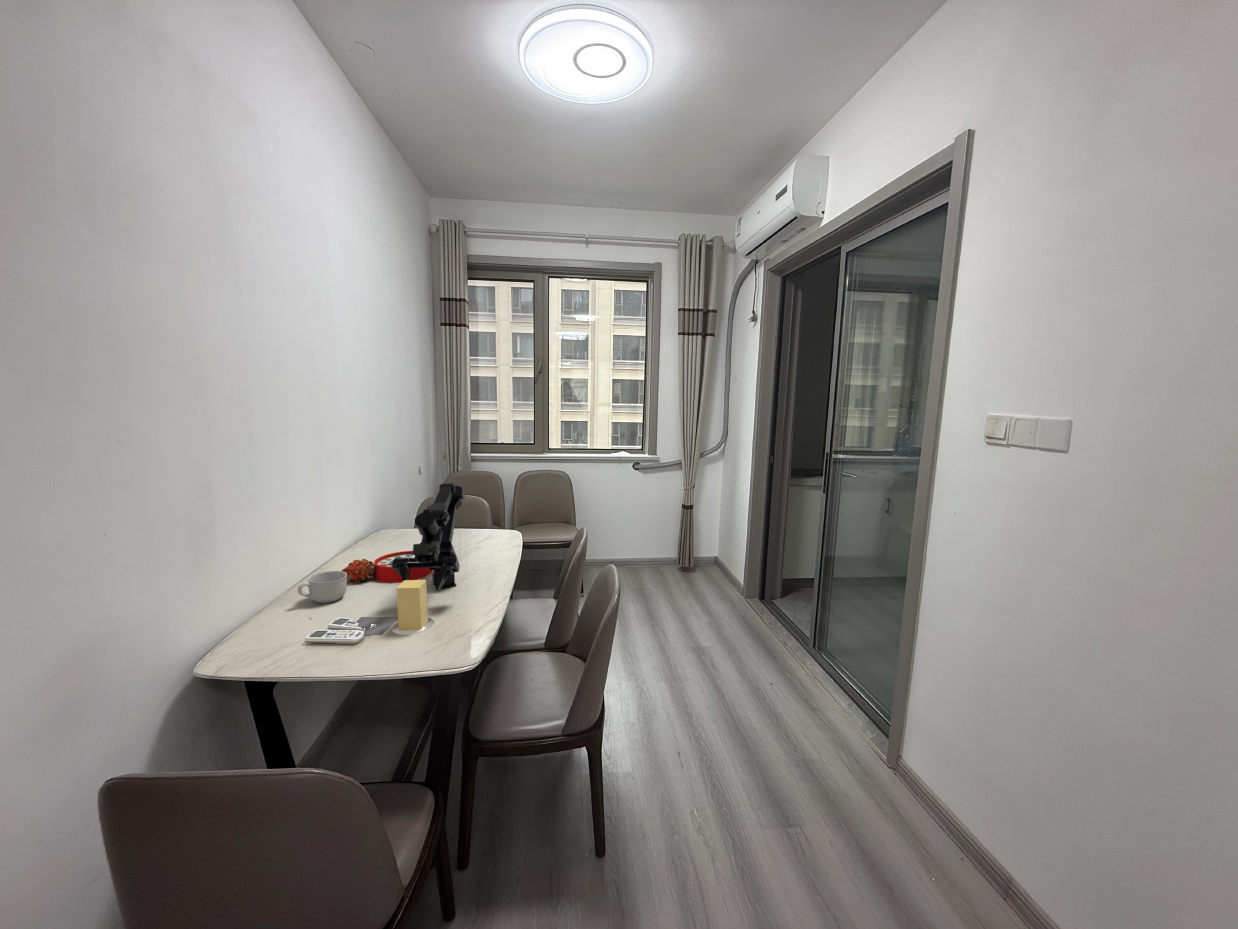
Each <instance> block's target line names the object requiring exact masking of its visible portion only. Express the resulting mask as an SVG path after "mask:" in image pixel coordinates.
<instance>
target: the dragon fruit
mask: <svg viewBox="0 0 1238 929" xmlns="http://www.w3.org/2000/svg"><path fill="white" fill-rule="evenodd" d="M375 567H376V566H375V564H374V561H372V560H368V559H366V558H364V557H363V558H362V559H361V560H359V559H354V560H352V562H349V563H348V565H347V566H346V567H344V568H343V569H342V570H341V571H343V572H346V573H347V582H348V581H349V582H350V581H351V582H355V583H357V584H358V583H360V582H362V581H364V582H366V581H368V580H369V578H371V577H375V571H376V570H375Z"/></svg>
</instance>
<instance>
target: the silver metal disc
mask: <svg viewBox="0 0 1238 929" xmlns="http://www.w3.org/2000/svg"><path fill="white" fill-rule="evenodd" d="M434 625H435V620H434V619H433V618H431V617H428V621H427V622H426V624H425V625H424V627H423V628H422V630H400V631H399V627H398V622H396V623H394V624H393V626H392V627H391V631H392V632H393V633H394V634H397V635H404V636H405V635H408V636H409V635H414V634H420V633H423V632H426V631H428V630H429V629H431V628H432V627H434Z"/></svg>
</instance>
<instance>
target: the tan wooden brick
mask: <svg viewBox="0 0 1238 929" xmlns="http://www.w3.org/2000/svg"><path fill="white" fill-rule="evenodd" d="M427 588H428V587H427V580H426V579H417V580H404V581H403V582H400V584H399V585H398V586H397V587H396V601H397V602H396V605H397V617H398V619H397V623H398V627H399V631H400V630H422V628H423V627H424V625H425V624H426V622H427V621H428V618H429V616H428V589H427Z"/></svg>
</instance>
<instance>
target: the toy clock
mask: <svg viewBox="0 0 1238 929" xmlns="http://www.w3.org/2000/svg"><path fill="white" fill-rule="evenodd" d="M412 554H413V550H404V551H397V552H391V553H388V554H384V555H381V556H379V557H377V558H376V559H374V560H373V564H375V566H376V567H375V570H376V571H375V576H374V579H375V580H376V581H378V582H381V583H388V584H389V583H391V584H396V583H402V577H401V576H400V575H399V574H398V573H396V572H395V570H394V569H393V568H392V566H391V564H392V561H393V560H394V559H395V558H408V560H409V562H417V559H415V555H412ZM409 573H410V579H409V580H421V579H423V578H425V577H427V576H429V575H432V573H434V570H430V568H411V571H410V572H409Z"/></svg>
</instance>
